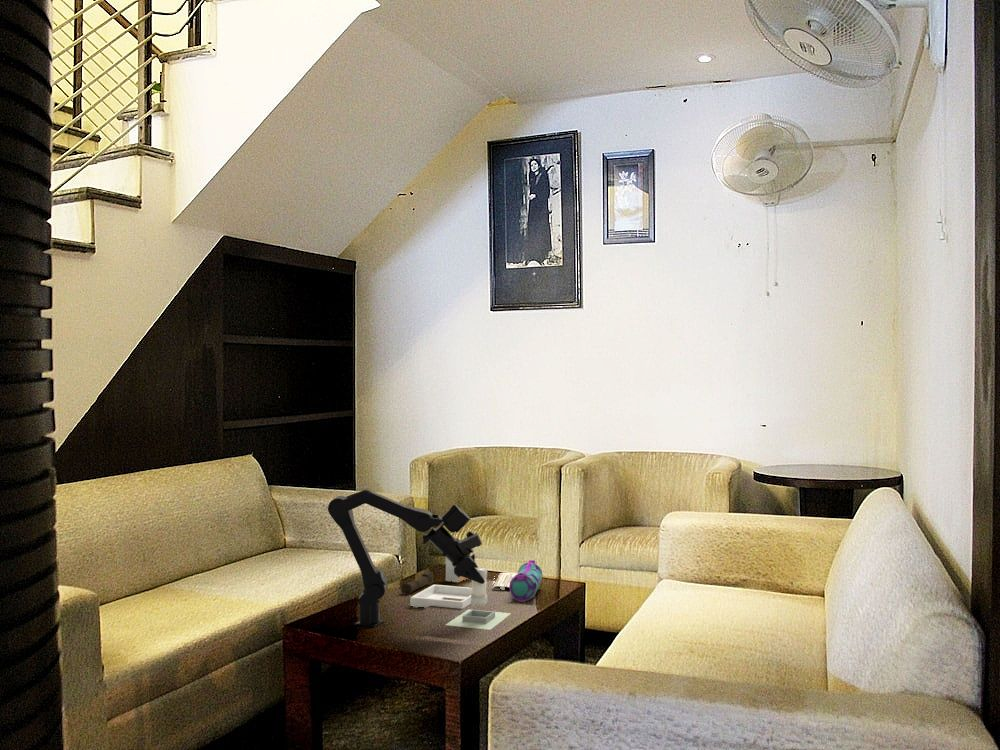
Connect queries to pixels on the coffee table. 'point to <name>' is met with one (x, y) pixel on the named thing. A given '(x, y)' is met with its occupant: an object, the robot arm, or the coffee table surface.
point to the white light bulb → (479, 589)
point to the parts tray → (436, 595)
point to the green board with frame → (478, 619)
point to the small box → (452, 572)
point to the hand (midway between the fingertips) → (483, 580)
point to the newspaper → (503, 580)
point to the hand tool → (417, 583)
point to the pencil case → (526, 581)
